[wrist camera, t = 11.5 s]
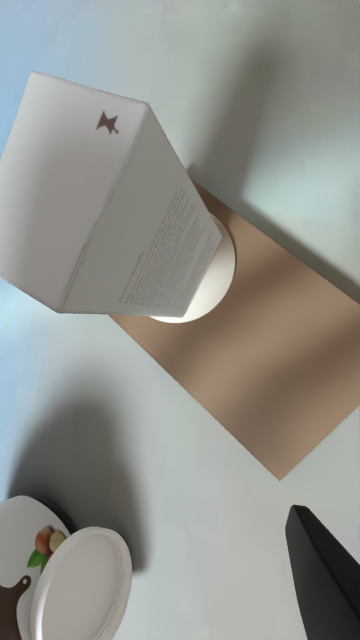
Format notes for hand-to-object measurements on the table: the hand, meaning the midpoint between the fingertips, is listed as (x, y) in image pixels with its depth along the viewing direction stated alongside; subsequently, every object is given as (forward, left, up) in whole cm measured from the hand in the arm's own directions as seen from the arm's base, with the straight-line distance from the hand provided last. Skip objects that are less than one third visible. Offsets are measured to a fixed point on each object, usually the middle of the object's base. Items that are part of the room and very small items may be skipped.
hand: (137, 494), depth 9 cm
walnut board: (+3, -5, -12) cm, 13 cm away
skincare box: (+8, -5, -11) cm, 14 cm away
